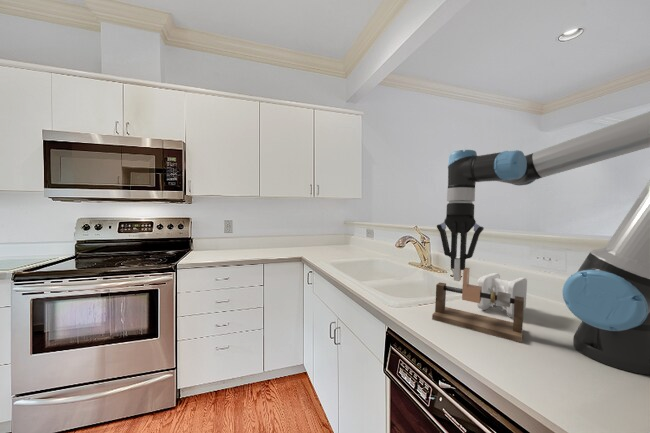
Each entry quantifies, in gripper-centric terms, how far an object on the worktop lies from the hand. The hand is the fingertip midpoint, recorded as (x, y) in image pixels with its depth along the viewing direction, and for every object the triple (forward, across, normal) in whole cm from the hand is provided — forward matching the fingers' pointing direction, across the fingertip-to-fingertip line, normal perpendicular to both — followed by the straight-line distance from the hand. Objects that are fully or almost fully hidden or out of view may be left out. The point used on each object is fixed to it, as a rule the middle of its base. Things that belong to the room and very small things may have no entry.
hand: (457, 279), depth 82 cm
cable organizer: (+13, -10, -19) cm, 25 cm away
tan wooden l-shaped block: (+5, -4, 0) cm, 7 cm away
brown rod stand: (+12, -5, 0) cm, 13 cm away
